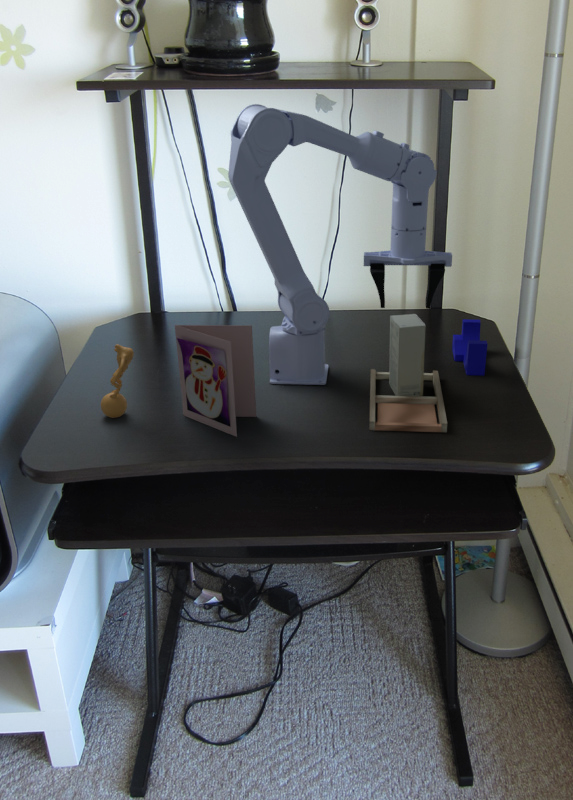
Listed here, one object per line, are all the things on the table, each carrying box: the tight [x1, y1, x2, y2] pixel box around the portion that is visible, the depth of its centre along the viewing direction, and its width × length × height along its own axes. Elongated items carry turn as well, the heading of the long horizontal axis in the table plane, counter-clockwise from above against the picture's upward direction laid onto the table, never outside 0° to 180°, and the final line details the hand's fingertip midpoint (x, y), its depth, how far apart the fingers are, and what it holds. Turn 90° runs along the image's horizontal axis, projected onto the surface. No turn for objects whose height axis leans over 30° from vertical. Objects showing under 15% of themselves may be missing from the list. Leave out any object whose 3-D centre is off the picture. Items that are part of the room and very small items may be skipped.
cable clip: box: [451, 319, 488, 377], centre depth 129 cm, size 12×4×6 cm, turn 173°
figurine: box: [100, 343, 135, 419], centre depth 112 cm, size 8×6×12 cm
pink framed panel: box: [368, 368, 448, 433], centre depth 116 cm, size 11×19×2 cm, turn 174°
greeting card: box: [174, 324, 257, 438], centre depth 109 cm, size 11×7×15 cm, turn 50°
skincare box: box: [388, 313, 427, 396], centre depth 118 cm, size 6×4×12 cm
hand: (405, 306), depth 126 cm, fingers open, 7 cm apart
